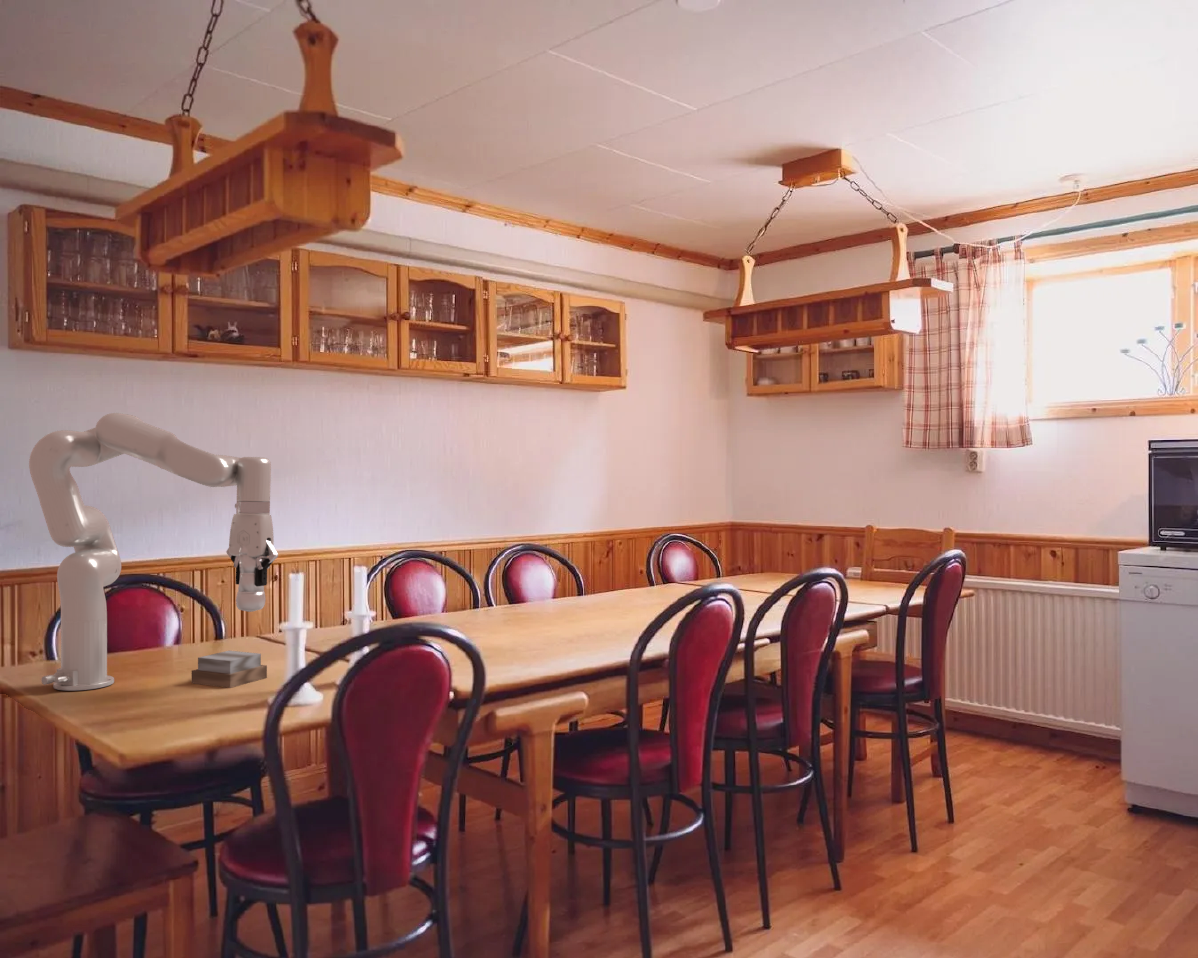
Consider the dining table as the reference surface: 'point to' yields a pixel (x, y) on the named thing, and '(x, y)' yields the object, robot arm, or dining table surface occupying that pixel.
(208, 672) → the plinth
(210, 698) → the dining table surface
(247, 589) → the plastic bottle
